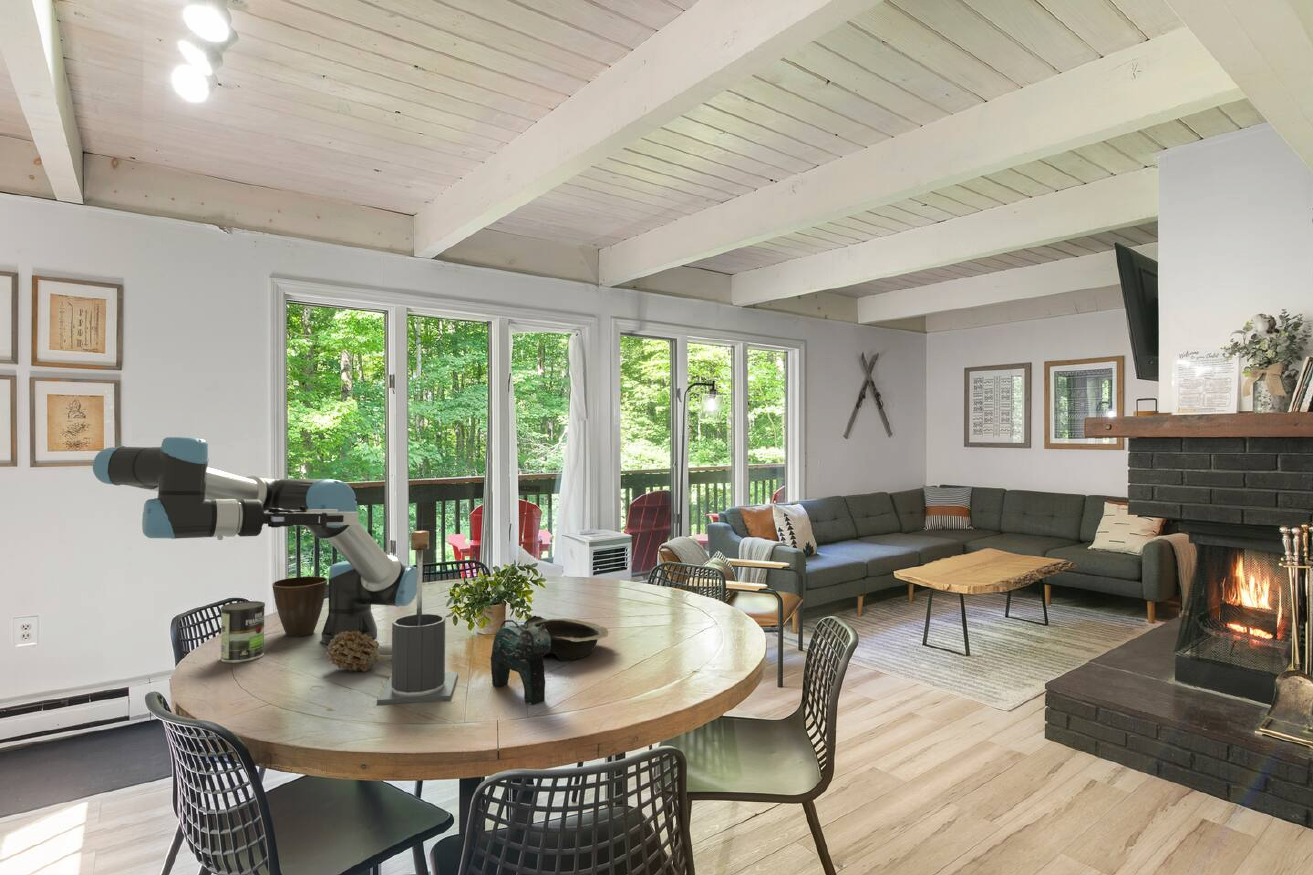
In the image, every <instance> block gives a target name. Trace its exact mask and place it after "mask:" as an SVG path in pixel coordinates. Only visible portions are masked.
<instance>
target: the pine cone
mask: <svg viewBox="0 0 1313 875" xmlns="http://www.w3.org/2000/svg"><path fill="white" fill-rule="evenodd" d="M330 641H331V643H330V644H328V645H327V646H326V648H327V650H328V651H327V652H326V656H328V658H327V660H328V661H330V662H331V664H332V665H337V668H338V669H341V670H346V669H348V670H349V671H355V672H357V671H362V672H367V671H368V670H370V668H371V667H372V666H373V664H374V663H375V664H376V663H377V662H380V661H392V654H387V655H385V654H383V655H382V654H381V653H380V652H379V646H380V644H379V643H380V642H378V640H375V639H372V637H371V636H367V635H366V634H364V635H362V634H361V632H360V631H358V632H356V631H352V632H348V631H345V632H340V633H339V635H335V636H334V639H332V640H330Z"/></svg>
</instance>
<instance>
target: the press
mask: <svg viewBox="0 0 1313 875" xmlns="http://www.w3.org/2000/svg"><path fill="white" fill-rule="evenodd" d="M416 625H417V613H415V614H408V615H403V616H399V617H398V618H394V619H393V621H392V622H391V628H392V630H391V632H392V633H391V655H392V660H391V675H390V677H389V678H388V680H387V682H386V683H385V685H384V687H383V689H382V691H381V692H380V694H379V696H378V697H377V700H376V705H386V704H387V705H388V704H405V703H406V704H407V703H422V702H436V701H437V702H440V701H451V700H452V696H453V692H454V689H455V687H456V684H457V679H458V673H459V672H457V671H455V672H454V671H453V672H451V671H450V672H445V671H446V616H444V615H442V614H437V613H436V614H435V613H422V626H416Z"/></svg>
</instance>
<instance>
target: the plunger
mask: <svg viewBox="0 0 1313 875" xmlns="http://www.w3.org/2000/svg"><path fill="white" fill-rule="evenodd" d="M429 544H430V531H429V530H415V531H411V532H410V550H411V551H416V569H417V593H416V614H417V625H416V626H422V614H423V556H424V555H423V552H424V551H425V550H429V549H430V545H429Z"/></svg>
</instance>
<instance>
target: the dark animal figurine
mask: <svg viewBox="0 0 1313 875" xmlns="http://www.w3.org/2000/svg"><path fill="white" fill-rule="evenodd" d="M523 613H524V614H525V615H526V620H527V628H526V629H525V628H524V627H521V626H519V624H518V623H517V622H516V621H515V620H512V619H506V620H504V621H503V622H502V623H501V624H500V627H499V629H498V630H497V631H496V633H495V636H494V638H493V642H492V649H491V655H490V666H491V667H490V670H491V671H490V672H491V681H492V682H491V683H492V685H493V686H494V687H496V688H498V689H500V688H503V687H507V686H508V683H509V679H510V673H511V671H513V672H516V673H518V675H519V676H520V680H521V682H522V684H523V691H524V692H523V693H524V696H523V698H524V699H523V700H524V702H525V703H529V704H530V705H532V706H533V705H537V704H540V703H543V702H545V698H546V695H545V694H546V678H545V676H546V675H545V673H546V672H545V664H544V656H545V655H544V654H546V653H548V652H549V651H550V648H551V638H550V635H549V633H548V631H547V630H546V629H545V624H542V625H541V626H540V627H536V626H535V622H534V623H533V624H532V626H531V628H528V618H529V614H528V613H527V611H526V610H521V611H520V613H519V616H521V615H522V614H523ZM506 623H513V624H514V625H508V626H504V625H505V624H506ZM503 626H504V627H503ZM543 655H544V656H543Z"/></svg>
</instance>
